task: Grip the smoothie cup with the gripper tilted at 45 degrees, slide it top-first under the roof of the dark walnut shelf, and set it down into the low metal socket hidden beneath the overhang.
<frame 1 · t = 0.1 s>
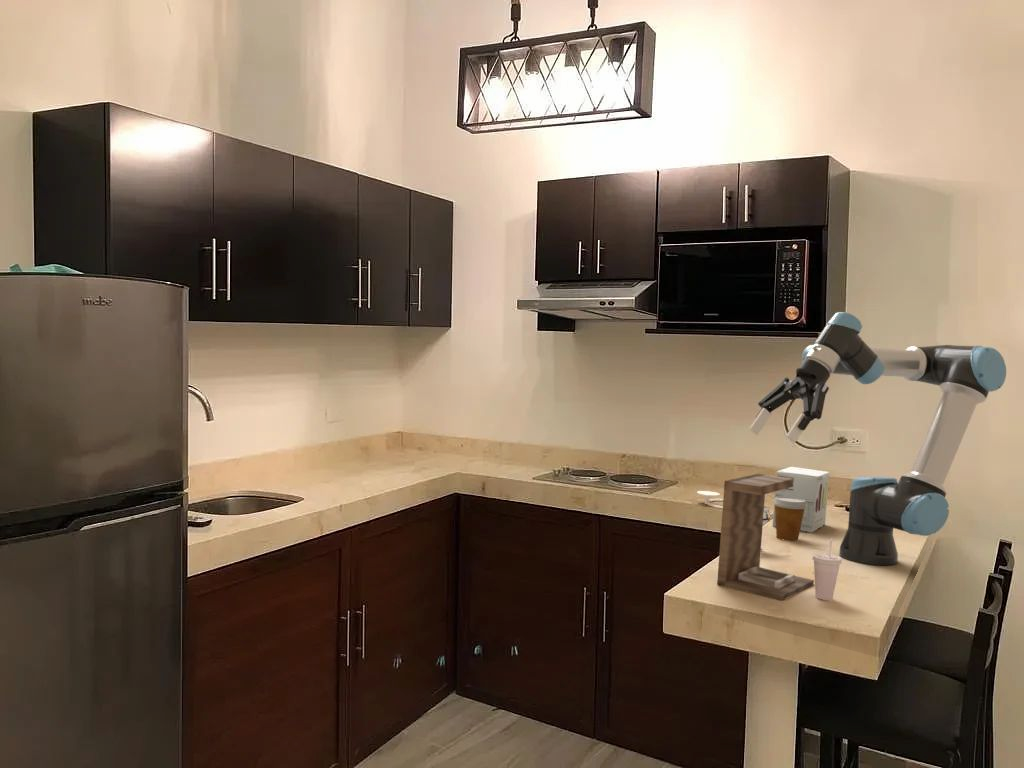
hand: (771, 435, 211), 36 cm above the counter, tool tilted 35°, fingers open, 13 cm apart
supplement box: (799, 526, 284), on the counter
hand towel holder: (724, 506, 314), on the counter
disposable coffee cup: (787, 539, 264), on the counter
wineglass: (755, 550, 247), on the counter
smoothie: (823, 598, 202), on the counter
overhang shelf: (766, 584, 210), on the counter
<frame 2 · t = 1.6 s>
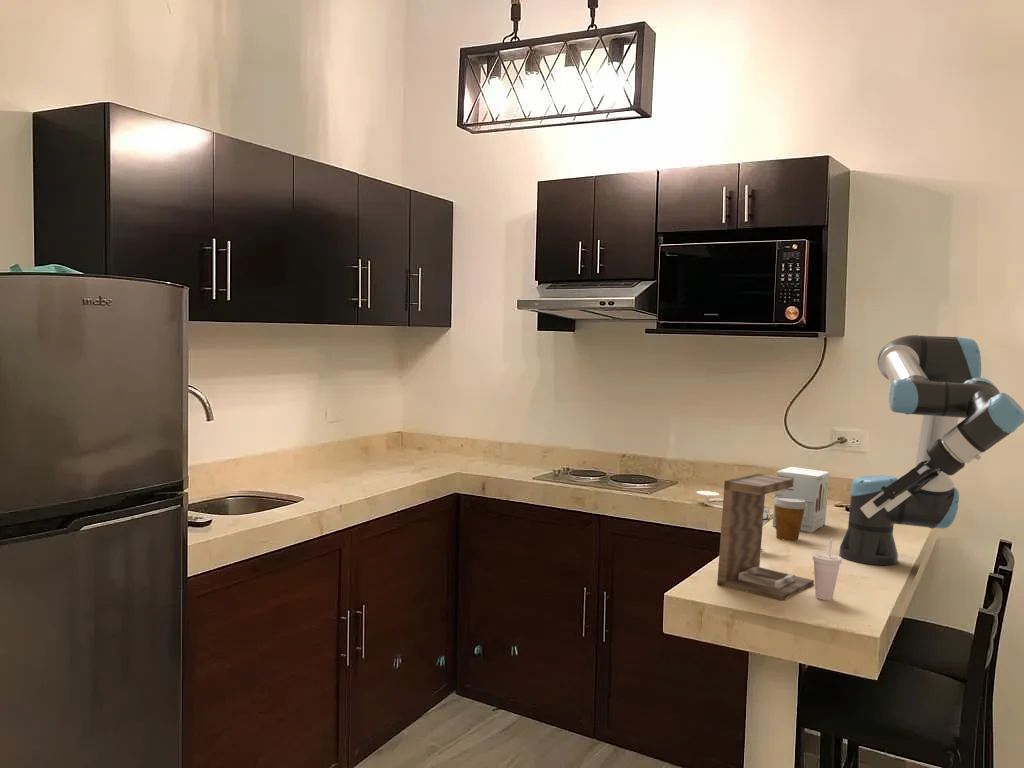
hand: (874, 510, 194), 22 cm above the counter, tool tilted 45°, fingers open, 13 cm apart
nothing on the counter moved.
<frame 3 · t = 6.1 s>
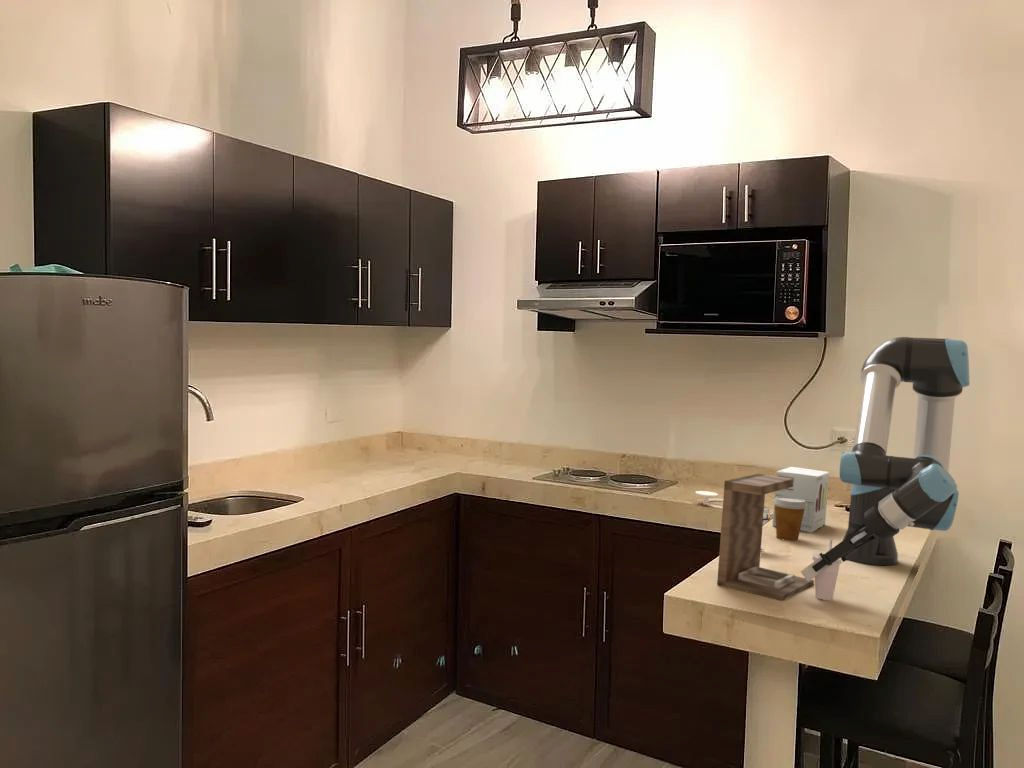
hand: (810, 573, 204), 5 cm above the counter, tool tilted 45°, fingers closed on smoothie, 6 cm apart
smoothie: (823, 598, 202), on the counter, touching gripper
everything else where it was.
when the fingers open (7 cm above the counter, at t = 10.8 s): smoothie stays where it is, resting on overhang shelf.
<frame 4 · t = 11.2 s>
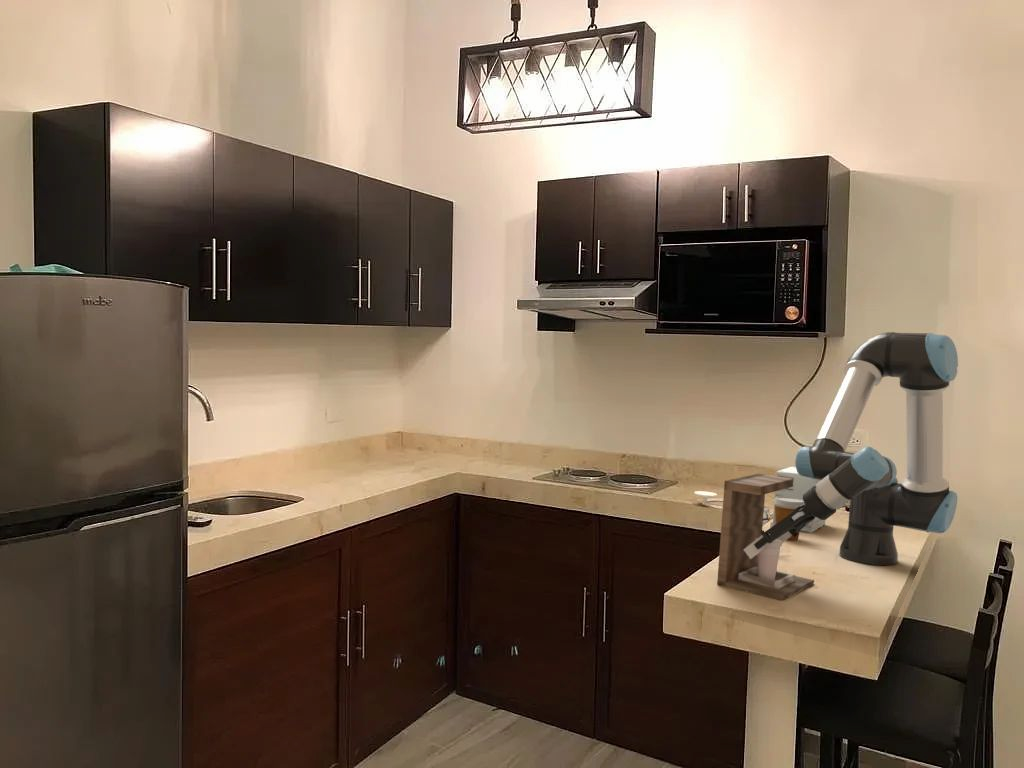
hand: (758, 550, 212), 8 cm above the counter, tool tilted 45°, fingers open, 12 cm apart
smoothie: (766, 580, 210), point 1 cm above the counter, touching overhang shelf
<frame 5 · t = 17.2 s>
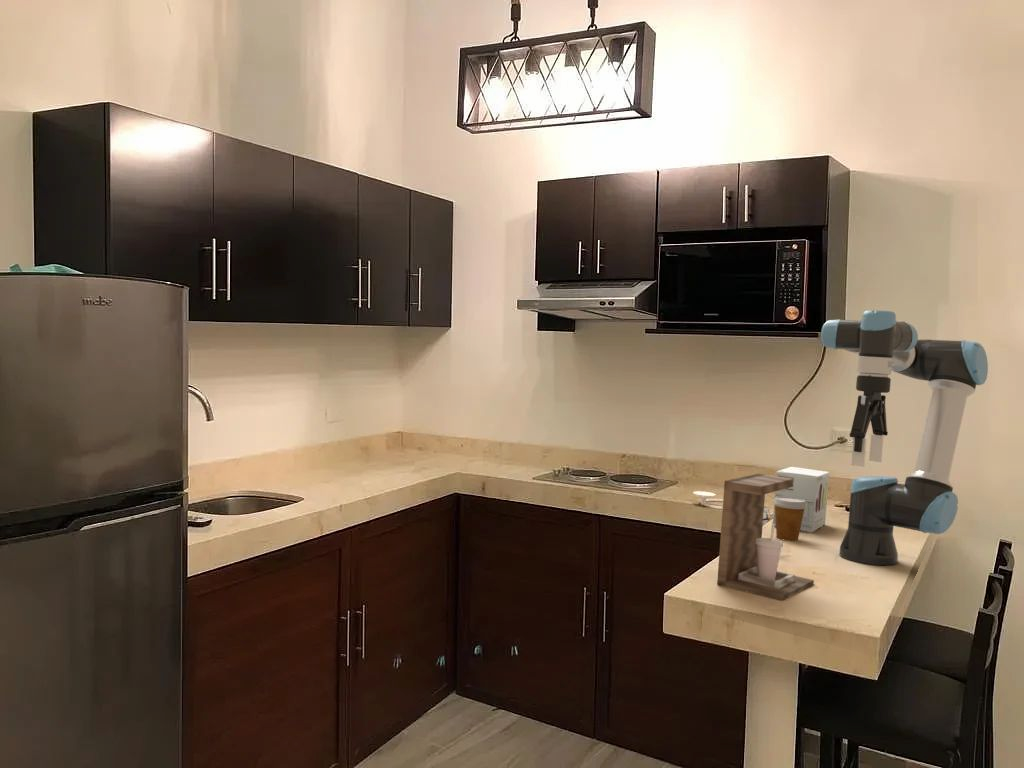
hand: (866, 463, 209), 31 cm above the counter, tool pointing down, fingers open, 13 cm apart
at the end: smoothie 0.1 cm off-centre on the overhang shelf, point 0.8 cm above the overhang shelf's base; smoothie tilted 0°; the gripper is holding nothing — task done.
